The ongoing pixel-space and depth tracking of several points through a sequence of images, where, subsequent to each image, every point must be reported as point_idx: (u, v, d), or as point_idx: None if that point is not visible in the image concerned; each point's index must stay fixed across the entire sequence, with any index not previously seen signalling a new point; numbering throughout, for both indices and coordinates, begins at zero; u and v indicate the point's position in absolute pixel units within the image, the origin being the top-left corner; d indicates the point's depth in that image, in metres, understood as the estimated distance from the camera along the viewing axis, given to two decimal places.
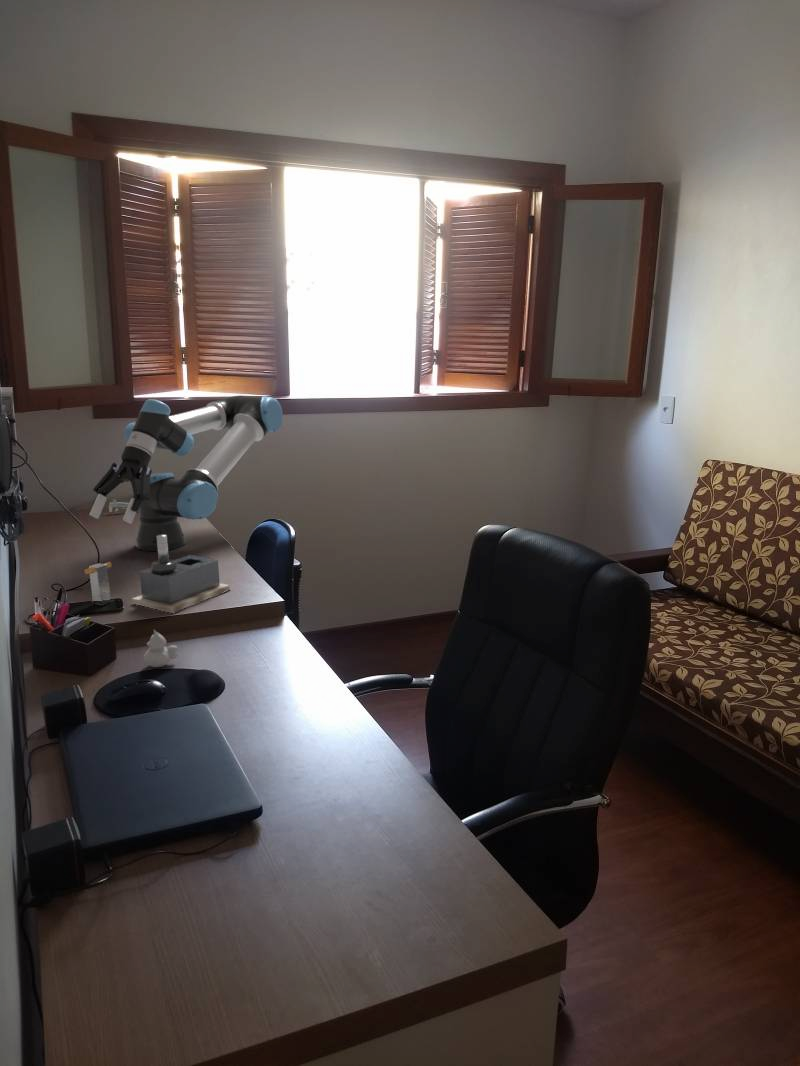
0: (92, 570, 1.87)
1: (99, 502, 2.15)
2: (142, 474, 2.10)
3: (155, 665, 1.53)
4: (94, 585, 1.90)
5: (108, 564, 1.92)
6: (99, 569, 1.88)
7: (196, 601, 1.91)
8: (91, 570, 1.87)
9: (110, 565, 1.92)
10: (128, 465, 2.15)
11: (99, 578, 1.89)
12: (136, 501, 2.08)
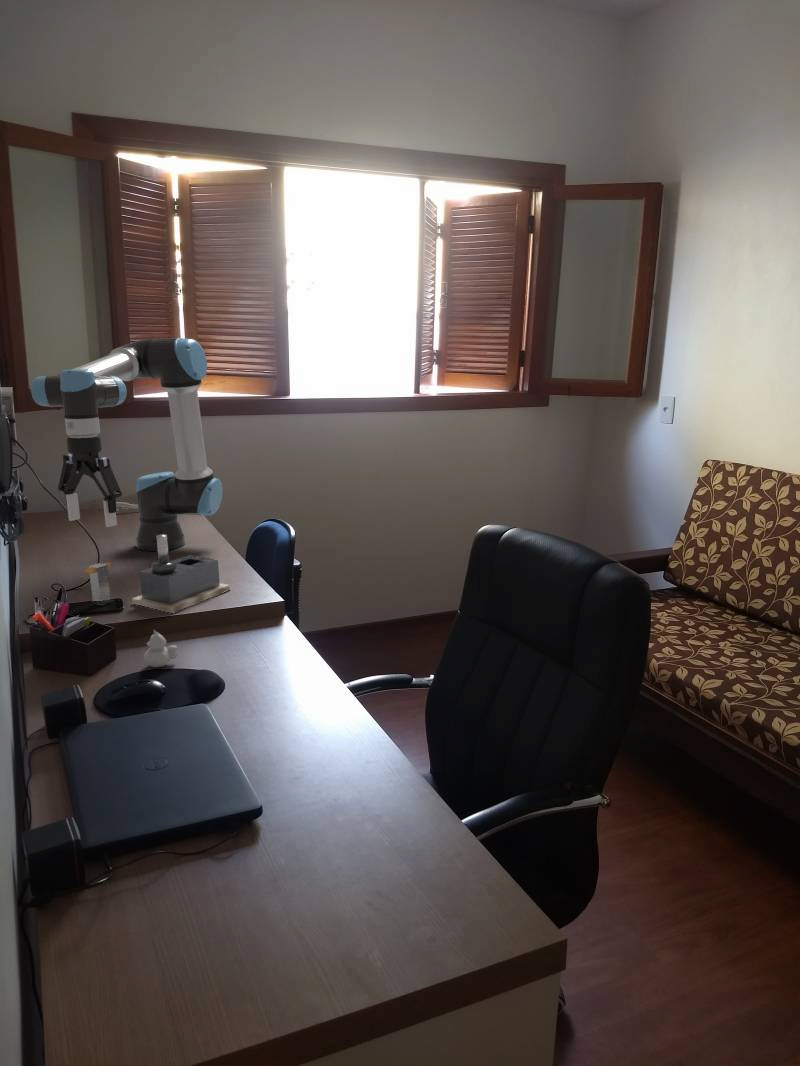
0: (92, 570, 1.87)
1: (71, 503, 1.89)
2: (101, 469, 1.79)
3: (155, 665, 1.53)
4: (94, 585, 1.90)
5: (108, 564, 1.92)
6: (99, 569, 1.88)
7: (196, 601, 1.91)
8: (91, 570, 1.87)
9: (110, 565, 1.92)
10: (81, 458, 1.82)
11: (99, 578, 1.89)
12: (110, 502, 1.81)
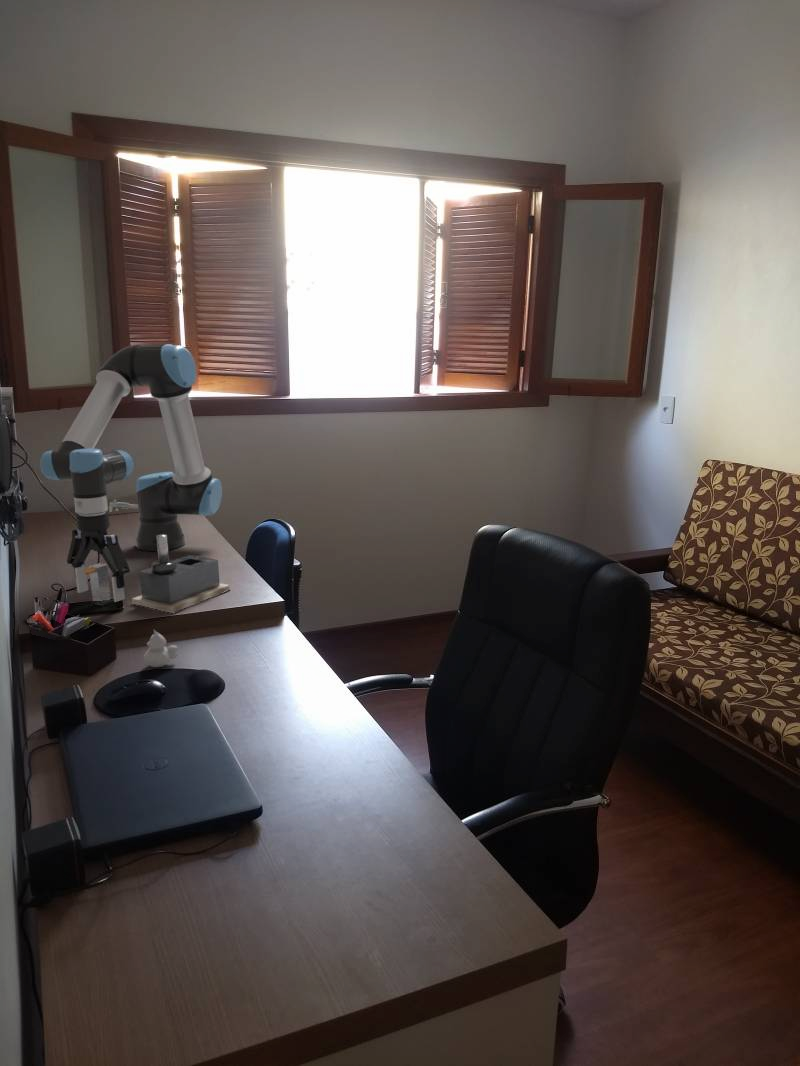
0: (92, 570, 1.87)
1: (80, 575, 1.93)
2: (109, 547, 1.84)
3: (155, 665, 1.53)
4: (94, 585, 1.90)
5: None
6: (99, 569, 1.88)
7: (196, 601, 1.91)
8: (91, 570, 1.87)
9: None
10: (89, 534, 1.87)
11: (99, 578, 1.89)
12: (118, 578, 1.85)
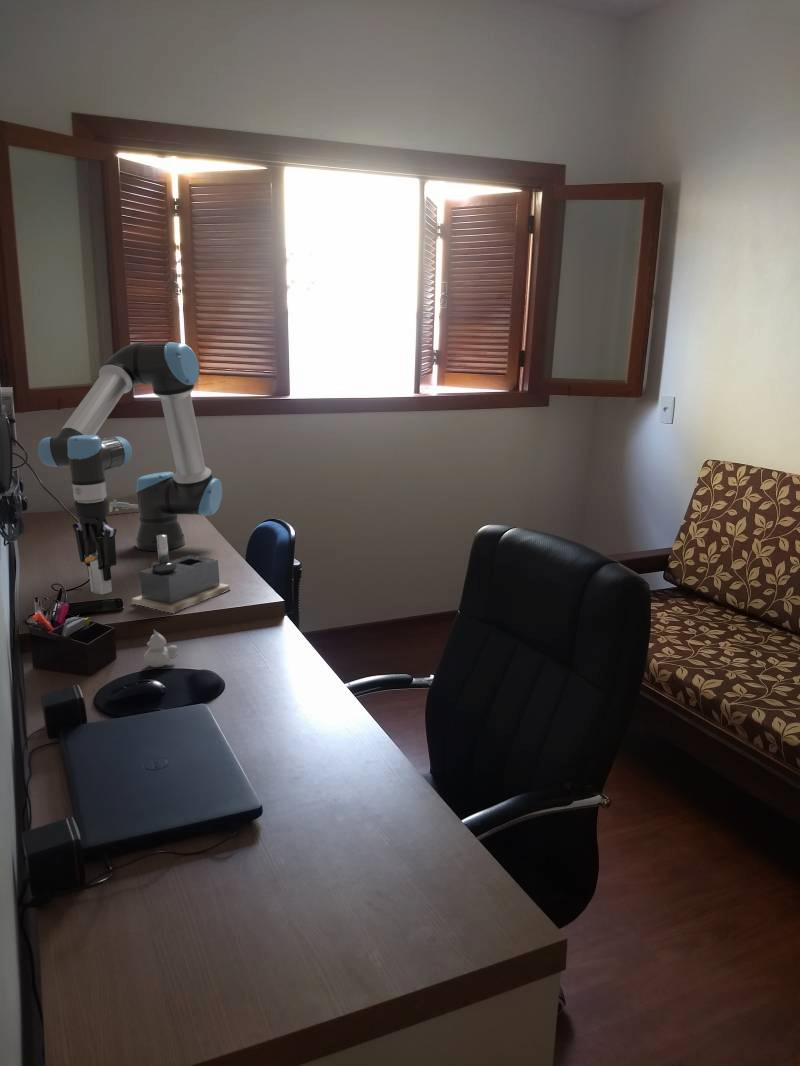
0: (92, 558, 1.87)
1: None
2: (105, 539, 1.84)
3: (155, 665, 1.53)
4: (95, 573, 1.89)
5: None
6: None
7: (196, 601, 1.91)
8: (91, 558, 1.87)
9: None
10: (88, 521, 1.86)
11: None
12: (105, 571, 1.88)
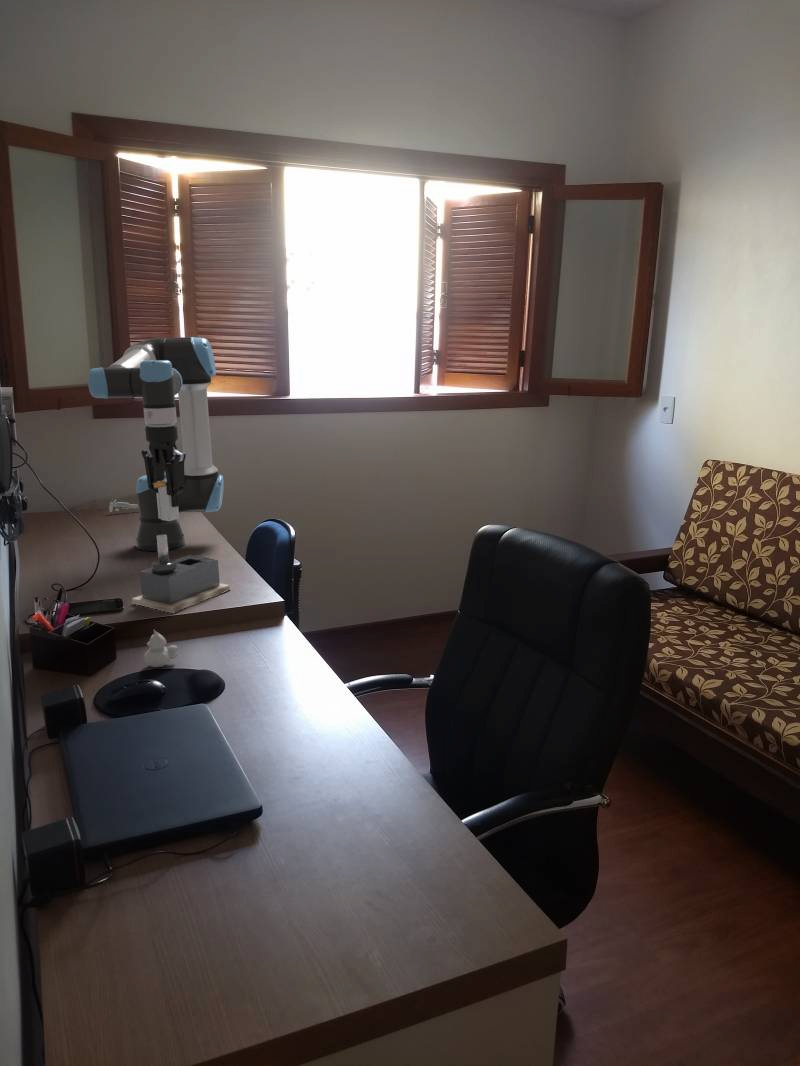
0: (161, 484, 1.89)
1: None
2: (175, 464, 1.86)
3: (155, 665, 1.53)
4: (162, 500, 1.91)
5: None
6: None
7: (196, 601, 1.91)
8: (160, 484, 1.88)
9: None
10: (158, 446, 1.87)
11: None
12: (173, 497, 1.89)
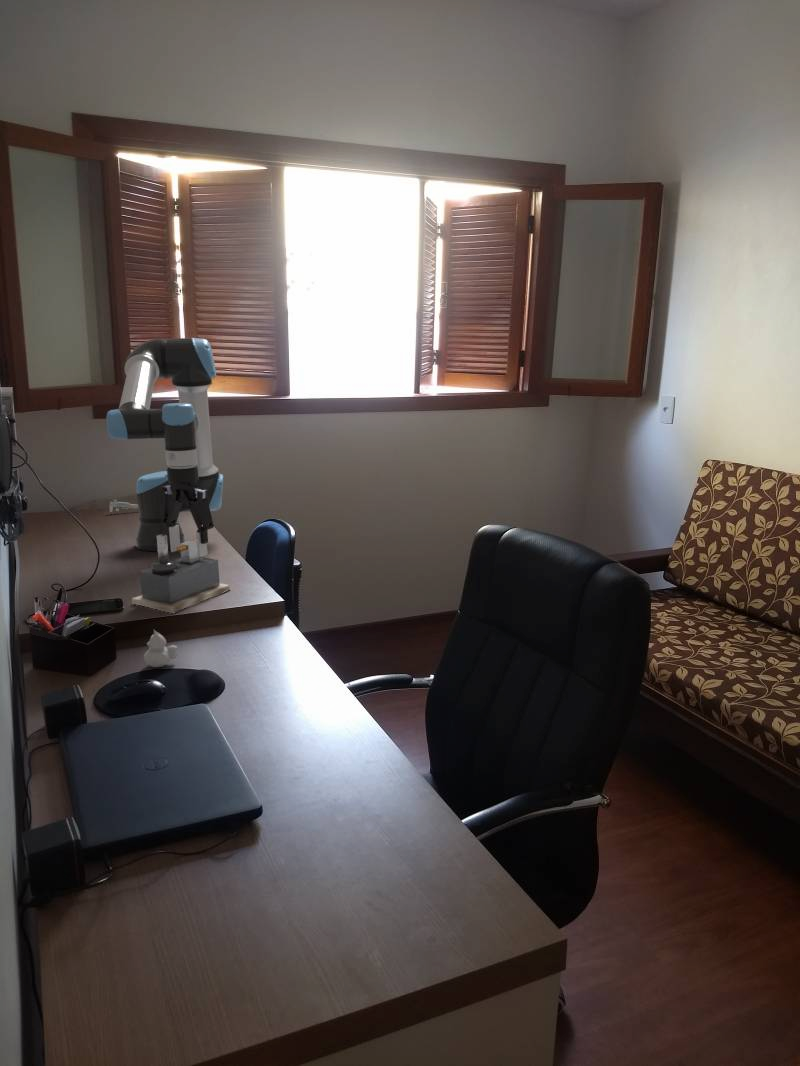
0: (184, 547, 1.94)
1: (174, 535, 1.97)
2: (199, 501, 1.89)
3: (155, 665, 1.53)
4: (185, 562, 1.96)
5: None
6: (190, 546, 1.95)
7: (196, 601, 1.91)
8: (183, 547, 1.94)
9: None
10: (179, 487, 1.91)
11: (190, 555, 1.95)
12: (202, 534, 1.92)
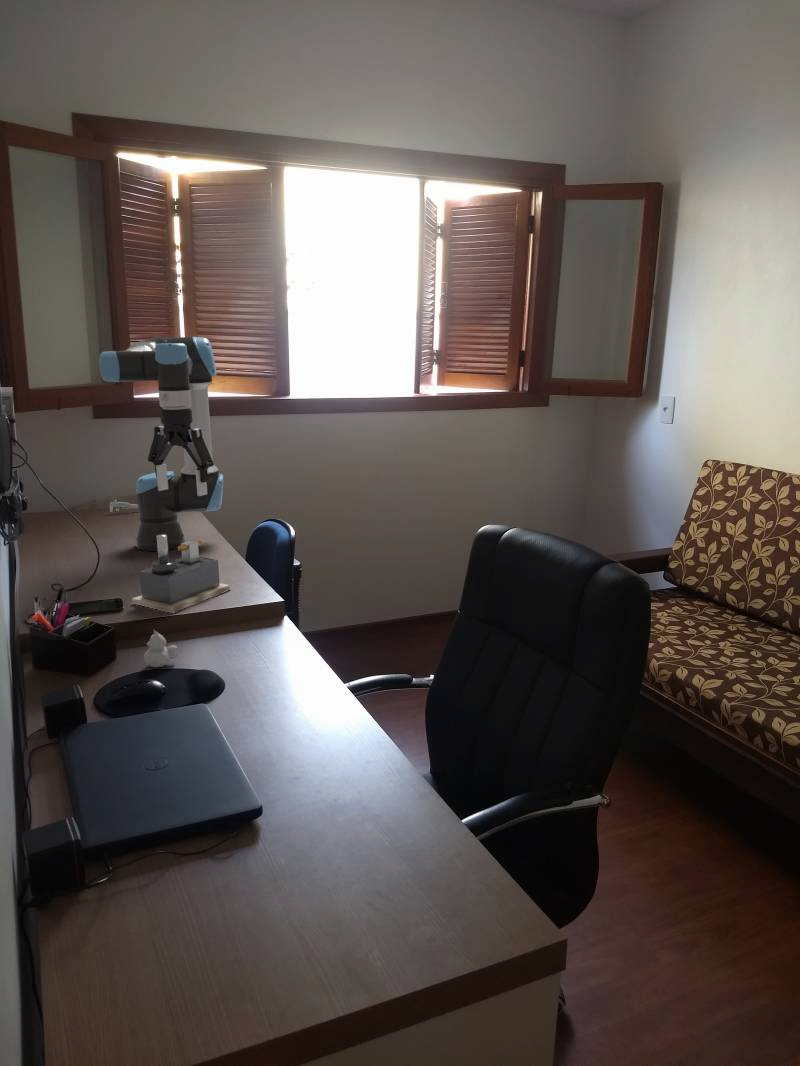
0: (185, 547, 1.94)
1: (161, 473, 1.95)
2: (194, 440, 1.86)
3: (155, 665, 1.53)
4: (186, 562, 1.96)
5: (198, 542, 1.98)
6: (191, 546, 1.95)
7: (196, 601, 1.91)
8: (184, 547, 1.94)
9: (200, 543, 1.99)
10: (173, 429, 1.89)
11: (191, 555, 1.95)
12: (202, 472, 1.87)
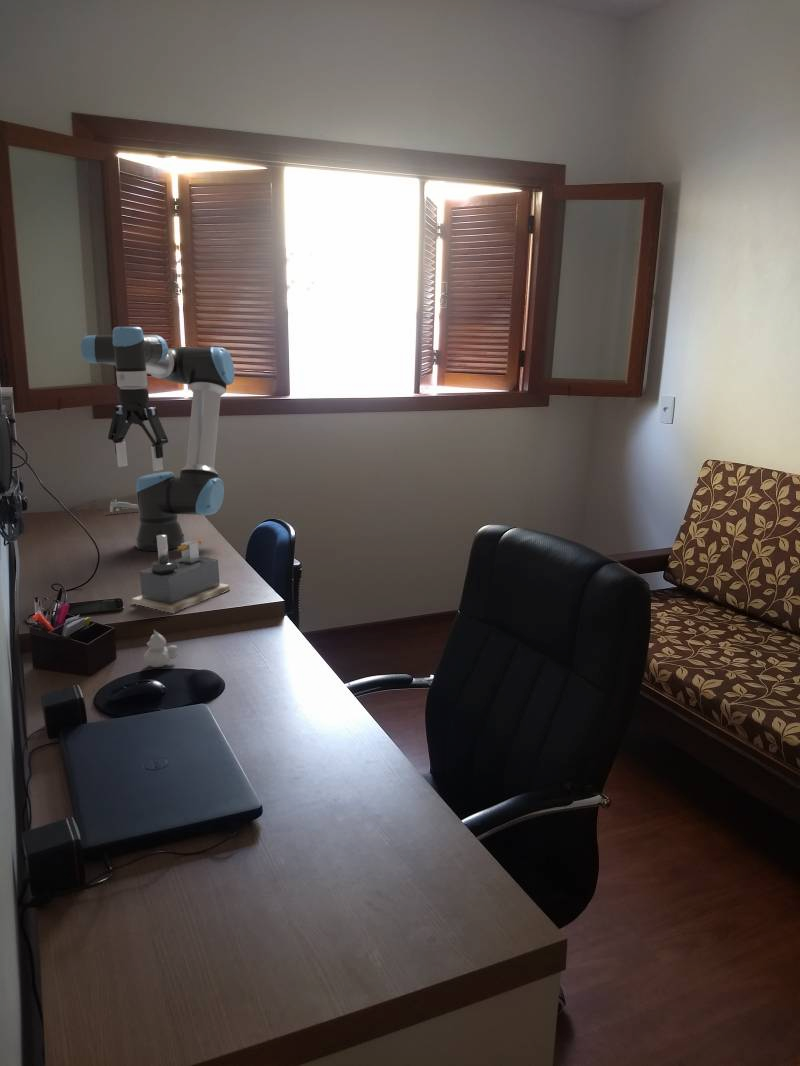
0: (185, 547, 1.94)
1: (120, 450, 2.06)
2: (149, 418, 1.97)
3: (155, 665, 1.53)
4: (186, 562, 1.96)
5: (198, 542, 1.98)
6: (191, 546, 1.95)
7: (196, 601, 1.91)
8: (184, 547, 1.94)
9: (200, 543, 1.99)
10: (130, 408, 2.00)
11: (191, 555, 1.95)
12: (157, 448, 1.99)
